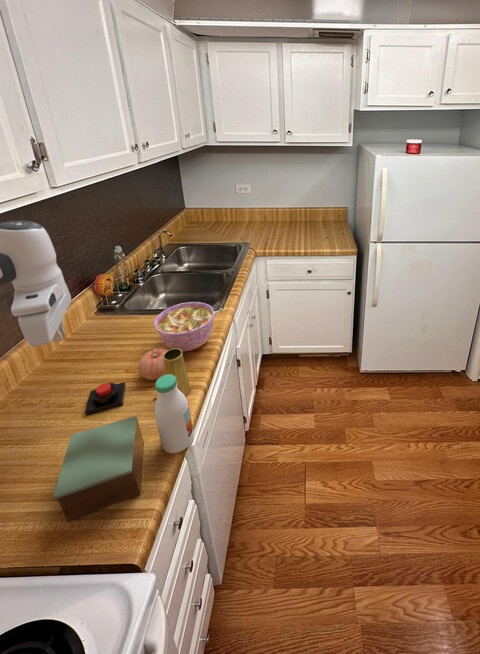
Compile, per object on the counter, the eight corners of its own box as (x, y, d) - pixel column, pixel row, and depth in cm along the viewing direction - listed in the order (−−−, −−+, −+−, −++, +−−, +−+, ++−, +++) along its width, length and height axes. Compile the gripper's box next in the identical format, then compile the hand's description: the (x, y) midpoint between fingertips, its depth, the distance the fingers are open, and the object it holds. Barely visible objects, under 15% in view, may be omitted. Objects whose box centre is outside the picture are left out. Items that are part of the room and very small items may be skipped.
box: (140, 494, 73) (132, 468, 70) (67, 522, 68) (55, 495, 65) (144, 442, 85) (137, 417, 82) (81, 462, 80) (71, 437, 77)
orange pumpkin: (139, 389, 101) (133, 369, 98) (142, 366, 110) (137, 347, 107) (177, 380, 105) (173, 360, 102) (177, 358, 114) (173, 339, 111)
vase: (180, 381, 104) (173, 344, 99) (195, 388, 102) (188, 350, 96) (164, 395, 99) (156, 357, 94) (179, 402, 97) (171, 364, 91)
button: (96, 398, 94) (94, 394, 93) (98, 389, 97) (97, 385, 97) (110, 394, 95) (109, 390, 95) (112, 385, 98) (111, 381, 98)
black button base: (86, 415, 92) (83, 406, 91) (92, 395, 99) (89, 386, 98) (122, 405, 96) (120, 396, 94) (125, 386, 103) (123, 377, 101)
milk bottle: (184, 457, 81) (171, 395, 74) (155, 451, 83) (140, 391, 75) (199, 429, 88) (189, 371, 81) (173, 425, 90) (160, 367, 82)
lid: (132, 472, 69) (131, 470, 69) (53, 500, 64) (52, 497, 64) (137, 417, 82) (136, 415, 81) (71, 437, 77) (70, 434, 76)
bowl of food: (189, 322, 134) (184, 297, 129) (228, 335, 126) (225, 309, 122) (147, 352, 117) (140, 324, 113) (190, 369, 109) (184, 340, 105)
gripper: (40, 272, 84) (56, 318, 89) (7, 314, 67) (29, 368, 72) (69, 268, 86) (83, 313, 92) (45, 308, 69) (64, 360, 74)
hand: (59, 338), depth 82 cm, fingers closed
